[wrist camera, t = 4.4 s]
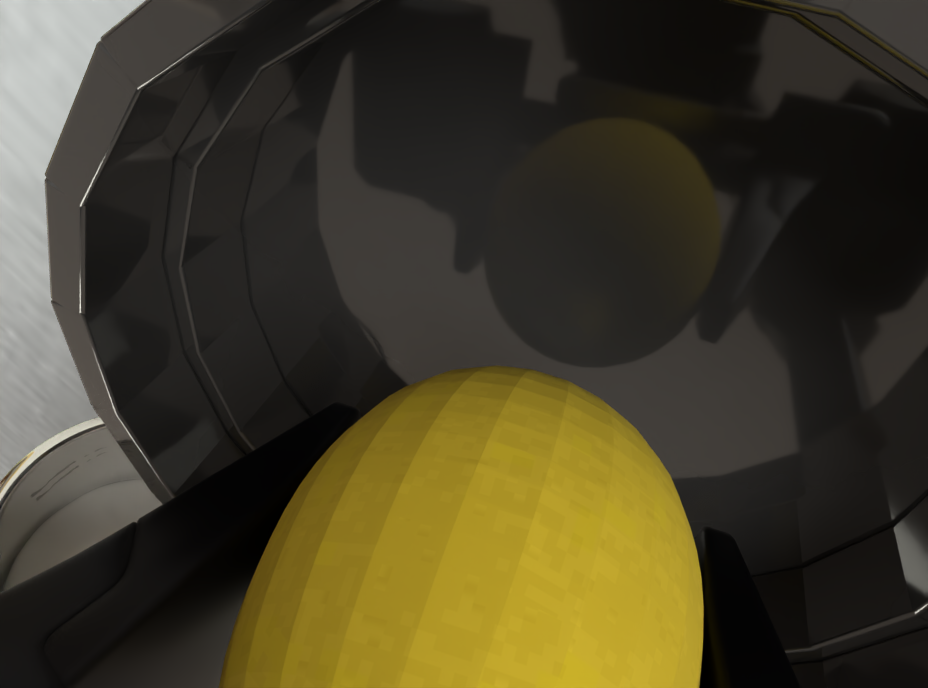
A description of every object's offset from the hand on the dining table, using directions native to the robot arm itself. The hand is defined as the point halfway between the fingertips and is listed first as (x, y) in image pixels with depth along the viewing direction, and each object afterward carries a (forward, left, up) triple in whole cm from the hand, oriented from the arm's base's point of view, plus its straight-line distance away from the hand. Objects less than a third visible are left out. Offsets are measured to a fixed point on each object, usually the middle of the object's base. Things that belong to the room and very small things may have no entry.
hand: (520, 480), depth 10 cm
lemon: (0, 0, -2) cm, 2 cm away
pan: (0, 0, -3) cm, 3 cm away
